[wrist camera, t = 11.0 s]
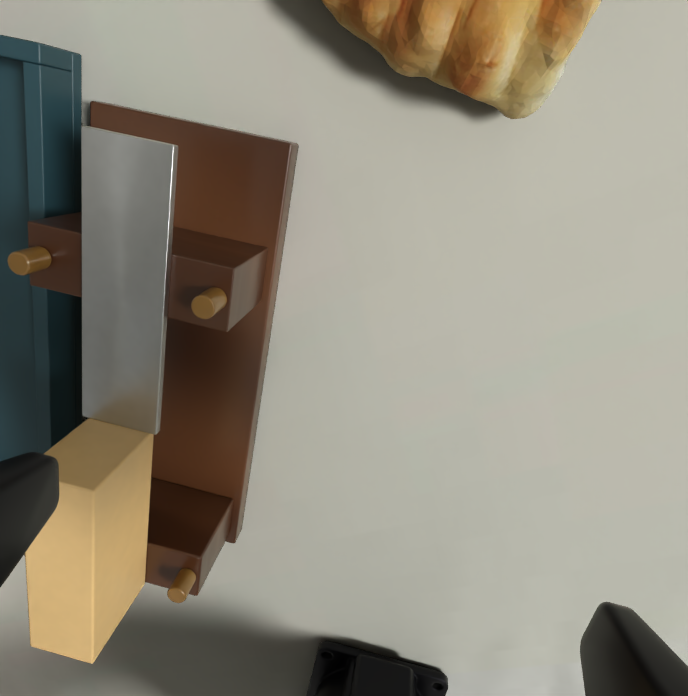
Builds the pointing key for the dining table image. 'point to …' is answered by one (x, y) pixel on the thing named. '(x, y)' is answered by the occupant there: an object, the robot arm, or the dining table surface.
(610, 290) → the dining table surface
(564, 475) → the dining table surface
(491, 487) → the dining table surface
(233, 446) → the knife rack
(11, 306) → the cutlery tray
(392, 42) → the pastry
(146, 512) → the knife
